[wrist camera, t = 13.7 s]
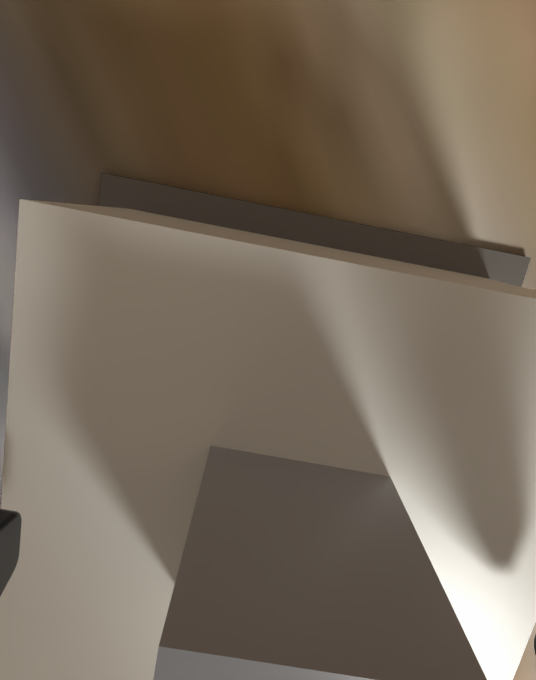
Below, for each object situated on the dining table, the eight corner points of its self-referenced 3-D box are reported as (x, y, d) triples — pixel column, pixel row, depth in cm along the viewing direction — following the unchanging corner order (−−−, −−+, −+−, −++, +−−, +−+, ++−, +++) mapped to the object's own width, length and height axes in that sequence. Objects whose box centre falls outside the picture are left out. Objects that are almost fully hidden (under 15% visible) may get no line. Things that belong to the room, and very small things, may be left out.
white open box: (396, 575, 16) (598, 1132, 6) (94, 525, 16) (-200, 1041, 6) (486, 277, 14) (1048, 423, 4) (131, 208, 13) (-272, 172, 3)
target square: (415, 604, 16) (417, 609, 16) (65, 548, 16) (63, 552, 16) (526, 257, 13) (530, 257, 13) (104, 173, 13) (101, 172, 13)
